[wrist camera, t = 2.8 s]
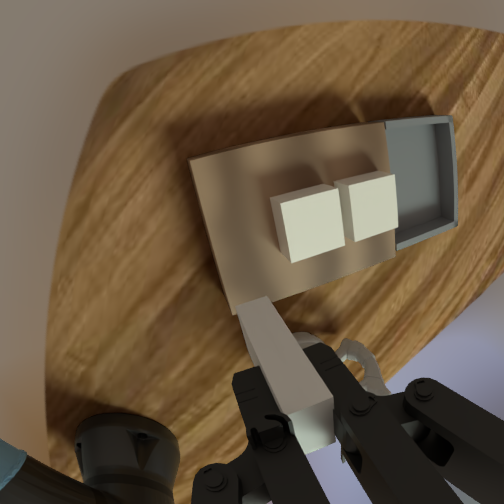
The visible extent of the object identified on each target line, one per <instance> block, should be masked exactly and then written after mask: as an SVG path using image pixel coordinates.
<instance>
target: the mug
mask: <svg viewBox="0 0 504 504" xmlns="http://www.w3.org/2000/svg"><path fill="white" fill-rule="evenodd" d="M292 335H293V336H294V338H295V339H296V341H297V342H298V344H299V345H300V347H301V348H302V349H304V348H306V347H309V346H311V345H314V344H316V343H319V342H322V343H324V342H323V341H322V340H321V339H319V338H317V337H315V336H314V335H311V334H310V333H308V332H296V333H292ZM324 344H325V343H324ZM335 353H336V354H337V356H338V358H340V359H341V361H342V362H344V361H345V360H346V359H347V358H348V360H354V361H359V363H360V364H361V365H362V367H363V368H364V369H365V374H364V379H363V380H362V381H361V382H359V384H360V385H361V386H362V387H363V388H364V389H365V390H366V391H368V392H371V393H374V394H375V395H379V396H386V395H391V392H390V391H389V390H388V389H387V388H386V386H385V384H384V380H383V378H382V375H381V372H380V368H379V366H378V363H377V361H376V360H375V356H374V355H373V354H372V353H371V352H370V351H369V350H368V349H367V348H366V347H365V346H364V345H363V344H362V343H360V342H358V341H352V340H349V339H347V338H345V339H343V340H342V342H341V345H340V347H339V348H338V349H337V350H336V351H335Z"/></svg>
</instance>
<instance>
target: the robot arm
mask: <svg viewBox="0 0 504 504" xmlns="http://www.w3.org/2000/svg"><path fill="white" fill-rule="evenodd" d="M235 308H236V311H237V315H238V318H239V321H240V325H241V328H242V332H243V335H244V338H245V342H246V345H247V349H248V352H249V354H250V357H251V359H252V361H253V364H254V366H255V367H253V368H250V369H247V370H244V371H240V372H237V373H234V376H233V380H232V387H233V390H234V393H235V396H236V399H237V402H238V406H239V409H240V412H241V415H242V418H243V421H244V423H245V426H246V434H247V438H248V440H249V441H248V445H247V448H246V449H245V451H244V452H243V453H242V454H241V455H240V456H239V457H237V458H236V459H234V460H233V461H231V462H229V463H228V464H221V463H214V464H209V465H207V466H205V467H203V468H201V469H200V470H199V471H198V473H197V474H196V475H195V478H194V481H193V488H192V499H191V504H267V503H268V502H269V501H271V500H272V503H273V504H330V502H329V501H328V499H327V497H326V495H325V493H324V491H323V489H322V487H321V485H320V483H319V481H318V480H317V477H316V476H315V474H314V472H313V470H312V468H311V466H310V464H309V462H308V460H307V458H306V456H305V455H306V454H308V453H311V452H313V451H316V450H318V449H321V448H323V447H325V446H328V445H330V444H332V443H334V442H336V438H335V435H336V437H337V439H338V440H339V442H340V444H341V460H342V463H344V462H345V459H346V461H347V462H348V464H349V466H350V467H351V469H352V471H353V472H354V474H355V476H356V477H357V479H358V481H359V482H360V484H361V485H362V487H363V489H364V490H365V492H366V493H367V495H368V497H369V499H370V500H371V502H372V504H463V502H462V501H461V500H460V498H459V497H458V496H457V495H456V493H455V492H454V491H453V490H452V488H451V487H450V486H449V485H448V483H447V482H446V481H445V479H446V480H447V481H449V482H450V483H451V484H453V485H454V486H456V487H457V488H459V489H460V490H461V491H463V492H464V493H466V494H467V495H469V496H470V497H472V498H473V499H474V500H476V501H477V502H479V503H480V504H504V421H503V420H501V419H500V418H498V417H496V416H495V415H493V414H491V413H489V412H488V411H486V410H484V409H483V408H481V407H479V406H478V405H476V404H474V403H473V402H471V401H469V400H468V399H466V398H464V397H463V396H461V395H459V394H457V393H456V392H454V391H453V390H451V389H449V388H447V387H446V386H444V385H443V384H441V383H439V382H438V381H436V380H433V379H431V378H419V379H415V380H414V381H412V382H411V383H409V384H408V386H407V387H406V389H405V392H400V393H396V394H392V395H386V396H379V395H375V394H374V393H371V392H368V391H366V390H365V389H364V388H363V387H362V386H361V385H360V384H359V382H358V381H357V380H356V378H355V377H354V376H353V375H352V373H351V372H350V371H349V370H348V368H347V367H346V366H345V364H343V362H342V361H341V359H340V358H338V356H337V354H336V353H335V352H334V350H333V349H332V348H331V347H329V346H327V345H325V344H324V343H322V342H319V343H316V344H314V345H311V346H309V347H306V348H304V349H302V348H301V347H300V345H299V344H298V342H297V341H296V339H295V338H294V336H293V335H292V333H291V332H290V330H289V329H288V327H287V326H286V324H285V323H284V321H283V320H282V318H281V316H280V315H279V313H278V312H277V310H276V309H275V307H274V306H273V304H272V303H271V301H270V300H269V298H268V297H267V296H265V297H262V298H259V299H256V300H253V301H249V302H246V303H243V304H240V305H237V306H235ZM74 447H75V453H76V457H77V460H78V464H79V468H80V471H81V475H82V478H83V483H81V482H79V481H77V480H75V479H73V478H70V477H68V476H66V475H64V474H62V473H60V472H58V471H56V470H54V469H53V468H51V467H49V466H47V465H45V464H43V463H41V462H40V461H38V460H36V459H34V458H33V457H31V456H29V455H27V452H25V451H24V450H19V449H17V448H15V447H13V446H12V445H10V444H8V443H6V442H5V441H3V440H2V439H0V504H174V499H173V486H174V482H175V479H176V475H177V471H178V467H179V463H180V451H179V445H178V441H177V439H176V437H175V436H174V435H173V434H172V432H170V431H169V430H168V429H167V428H165V427H164V426H162V425H161V424H159V423H157V422H155V421H152V420H150V419H147V418H144V417H140V416H136V415H131V414H122V413H107V414H100V415H96V416H93V417H90V418H88V419H86V420H85V421H83V422H82V423H81V424H80V425H79V426H78V428H77V430H76V435H75V442H74Z"/></svg>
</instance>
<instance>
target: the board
mask: <svg viewBox="0 0 504 504" xmlns="http://www.w3.org/2000/svg"><path fill="white" fill-rule="evenodd" d="M187 162H188V166H189V170H190V174H191V178H192V182H193V186H194V189H195V193H196V197H197V201H198V204H199V208H200V212H201V215H202V219H203V223H204V226H205V230H206V234H207V237H208V241H209V244H210V248H211V251H212V255H213V258H214V262H215V265H216V269H217V272H218V276H219V279H220V283H221V286H222V289H223V293H224V296H225V298H226V301H227V303H228V306H229V308H230V310H231V313H232V315H236V314H237V311H236V308H235V306H237V305H240V304H243V303H246V302H249V301H253V300H256V299H259V298H262V297H265V296H267V297H268V298H269V300H270V301H271V303H272V302H275V301H277V300H280V299H283V298H286V297H289V296H292V295H295V294H298V293H300V292H303V291H306V290H309V289H312V288H314V287H317V286H320V285H323V284H325V283H328V282H331V281H334V280H336V279H339V278H342V277H344V276H347V275H350V274H352V273H355V272H358V271H360V270H363V269H365V268H368V267H371V266H373V265H376V264H378V263H381V262H383V261H386V260H388V259H391V258H393V257H395V228H394V229H392V230H389V231H386V232H383V233H380V234H377V235H374V236H371V237H368V238H366V239H363V240H360V241H357V242H354V241H352V240H350V239H348V238H347V237H345V236H344V240H345V246H342V247H339V248H336V249H333V250H330V251H327V252H324V253H321V254H318V255H315V256H312V257H309V258H306V259H303V260H300V261H297V262H294V263H291V262H290V261H289V260H288V259H287V258H285V257H284V256H283V255H282V254H281V251H280V246H279V241H278V236H277V231H276V226H275V221H274V216H273V211H272V206H271V201H270V197H274V196H278V195H282V194H285V193H289V192H293V191H297V190H301V189H305V188H309V187H312V186H316V185H320V184H326V185H330V186H333V187H334V181H337V180H341V179H345V178H349V177H353V176H358V175H362V174H366V173H370V172H375V171H382V172H386V173H390V165H389V156H388V148H387V140H386V133H385V127H384V122H362V123H353V124H346V125H340V126H333V127H327V128H321V129H315V130H309V131H304V132H298V133H293V134H288V135H283V136H278V137H273V138H268V139H264V140H259V141H254V142H250V143H246V144H241V145H237V146H233V147H229V148H225V149H221V150H217V151H213V152H209V153H205V154H201V155H198V156H194V157H190V158H187Z"/></svg>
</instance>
